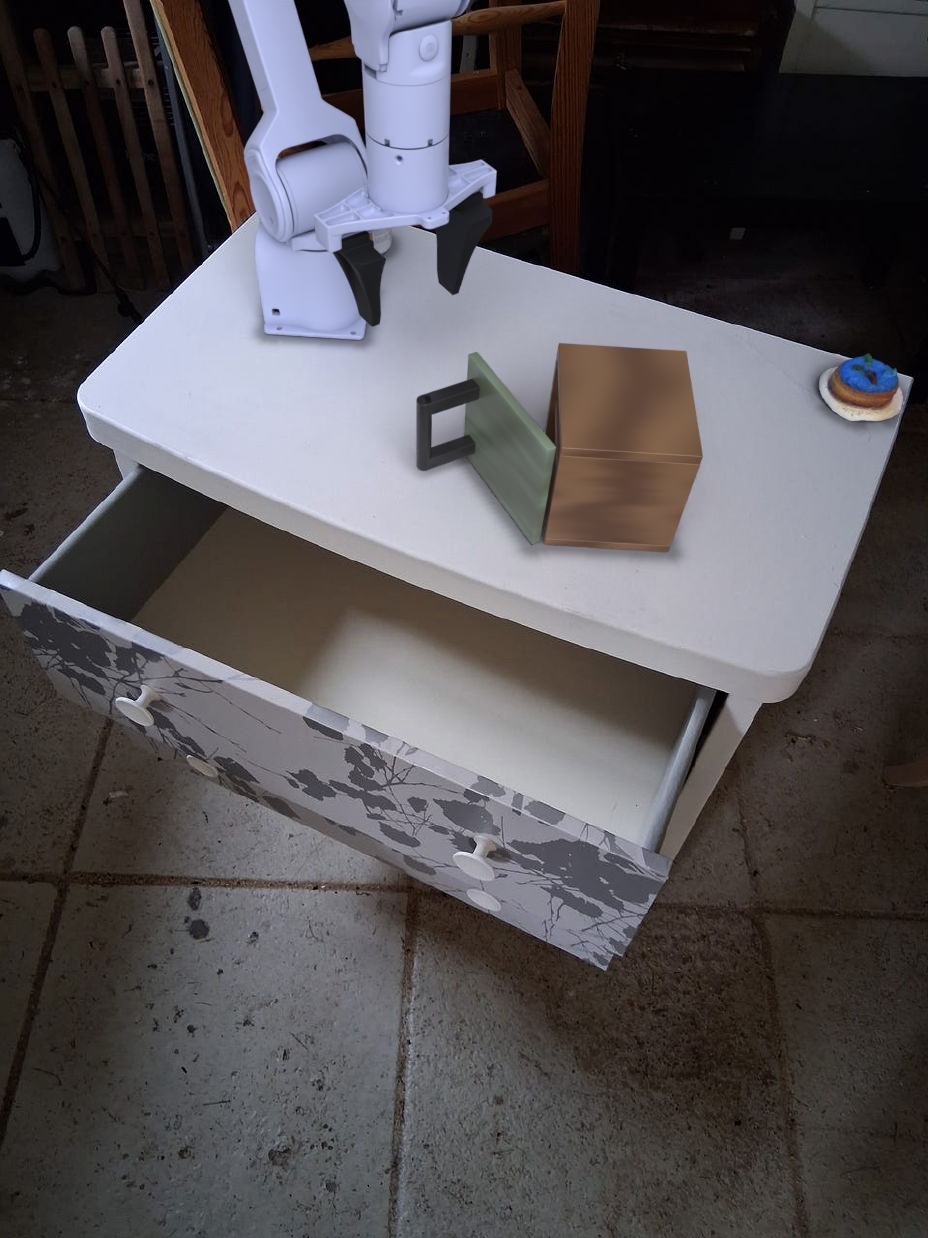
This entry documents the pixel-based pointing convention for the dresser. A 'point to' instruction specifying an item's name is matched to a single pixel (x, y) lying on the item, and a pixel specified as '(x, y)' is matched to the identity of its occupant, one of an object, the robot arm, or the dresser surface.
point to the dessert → (862, 389)
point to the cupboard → (620, 447)
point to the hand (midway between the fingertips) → (409, 303)
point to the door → (492, 443)
